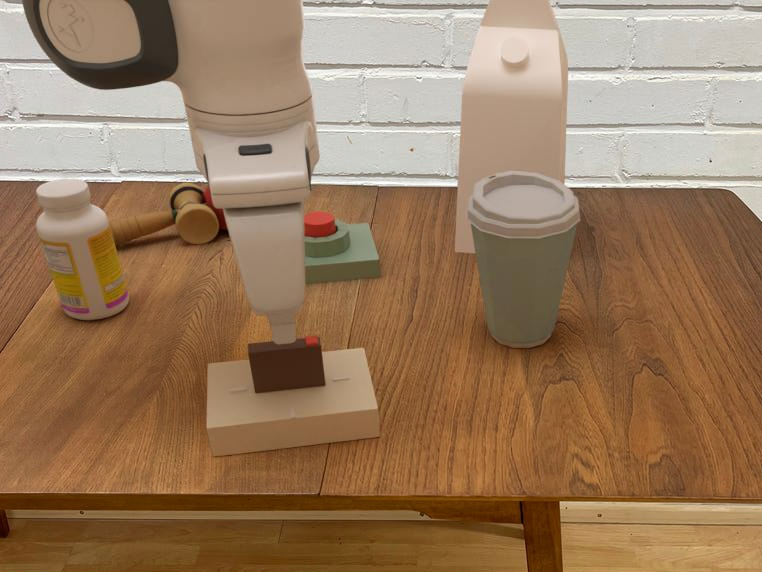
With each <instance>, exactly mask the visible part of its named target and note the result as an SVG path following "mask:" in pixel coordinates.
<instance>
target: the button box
mask: <svg viewBox="0 0 762 572" xmlns="http://www.w3.org/2000/svg"><path fill="white" fill-rule="evenodd" d="M335 229H336V233H335V234H333V235H330V236H327V237H319V238H314V237H307V236H305V285H308V284H318V283H319V284H321V283H329V282H341V281H342V282H343V281H352V280H353V281H354V280H363V279H365V280H366V279H376V278H377V279H378V278H381V263H380V261H381V260H380V257H379V253H378V250H377V247H376V244H375V243H376V242H375V240H374V237H373V234H372V230H371V226H370V224H369V222H361V223H360V222H359V223H346V222H344V221H342V220H341V219H337V218H335Z"/></svg>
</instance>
